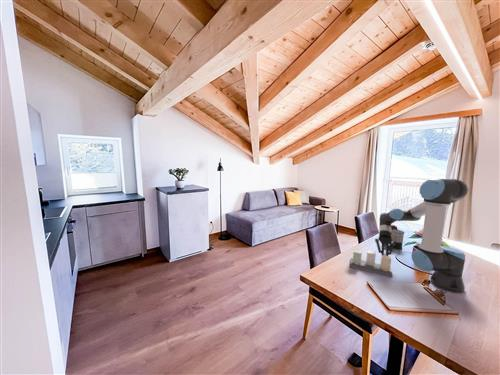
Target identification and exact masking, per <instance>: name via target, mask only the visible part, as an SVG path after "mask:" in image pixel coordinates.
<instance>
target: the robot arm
mask: <svg viewBox="0 0 500 375" xmlns="http://www.w3.org/2000/svg"><path fill="white" fill-rule="evenodd" d="M468 192H469V187H468V184H466V183H465V182H464V181H462V180H460V179H456V178H451V179H450V178H430V179H427V180H425V181H424V182H423V183H422V184H421V185H420V188H419V194H420V197H421V198H422V199H423V201H422V202H420V203H419V204H417V205H415V206H414V207H413V206H412V207H411V208H410V209H408V210H402V209H400V208H397V207H396V208H393V209H391V210H390V211H388V212H382V213H380V214H379V232H378V235H379V236H378V237H377V238H375V239H374V242H375V243H376V247H377V251H378V253H379V254H381V256H382V255H385V256H391V255H392V252H393V250H394V248H393V247H394V245H395V244H396V242H394V241H392V239H391V225H393V223H395V222H418V221H420V220H421V218H422V217H423V216H424V222H423V228H422V230H423V231H422V236H421V243H419V244H417V249H415V250H413V251H412V252H411V260H412V262H413V264H414V266H416V267H417V268H418V269H419V270H420V271H426V272H432V271H433V272H432V274H431V275H430V278H429V280H430V281H429V282H430V283H431V284H432V285H434V286H435V287H436V288H439V289H441V290H444V291H446V292H451V293H455V294H457V293H458V294H462V293H464V292H465V288H466V287H465V283H464V280H463V274H464V267H465V262H466V254H465V252H463V251H461V250H458V249H456V248H453V247H449V246H445V245H442V241H443V234H444V227H445V220H446V213H447V208H448V206H451V204H454V203H456V202H458V201H460V200H462V199H464V198H465V197H466V196H467V195H468ZM391 242H392V243H391ZM380 243H381V245H380ZM390 243H391V244H392V246H391V249H388V245H390ZM384 244H386V247H385V246H384Z"/></svg>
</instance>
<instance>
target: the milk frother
mask: <svg viewBox="0 0 500 375" xmlns="http://www.w3.org/2000/svg"><path fill="white" fill-rule="evenodd" d="M404 236H405V232H404V231H403V230H399V229H398V230H395V229H393V230H392V231H391V239H392V241H394V242H396V244H395V245H394V247H393V250H403V241H404ZM391 243H392V242H391ZM391 243H390V244H388V250H390V249H391V246H392V244H391ZM384 248H386V244H384Z"/></svg>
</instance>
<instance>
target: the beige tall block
mask: <svg viewBox="0 0 500 375" xmlns="http://www.w3.org/2000/svg"><path fill="white" fill-rule="evenodd" d="M380 257H381V259H380V264H381V265H380V269H382V270H388V271H390V266H391V264H392V263H391V262H392V258H391V255H388V256H385V255H382V254H381V256H380Z"/></svg>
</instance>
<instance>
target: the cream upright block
mask: <svg viewBox="0 0 500 375" xmlns="http://www.w3.org/2000/svg"><path fill="white" fill-rule="evenodd" d="M376 256H377V254H376V251H373V250H370V249H369V250H366V260H365V261H366V265H370V266H375V263H376Z"/></svg>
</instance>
